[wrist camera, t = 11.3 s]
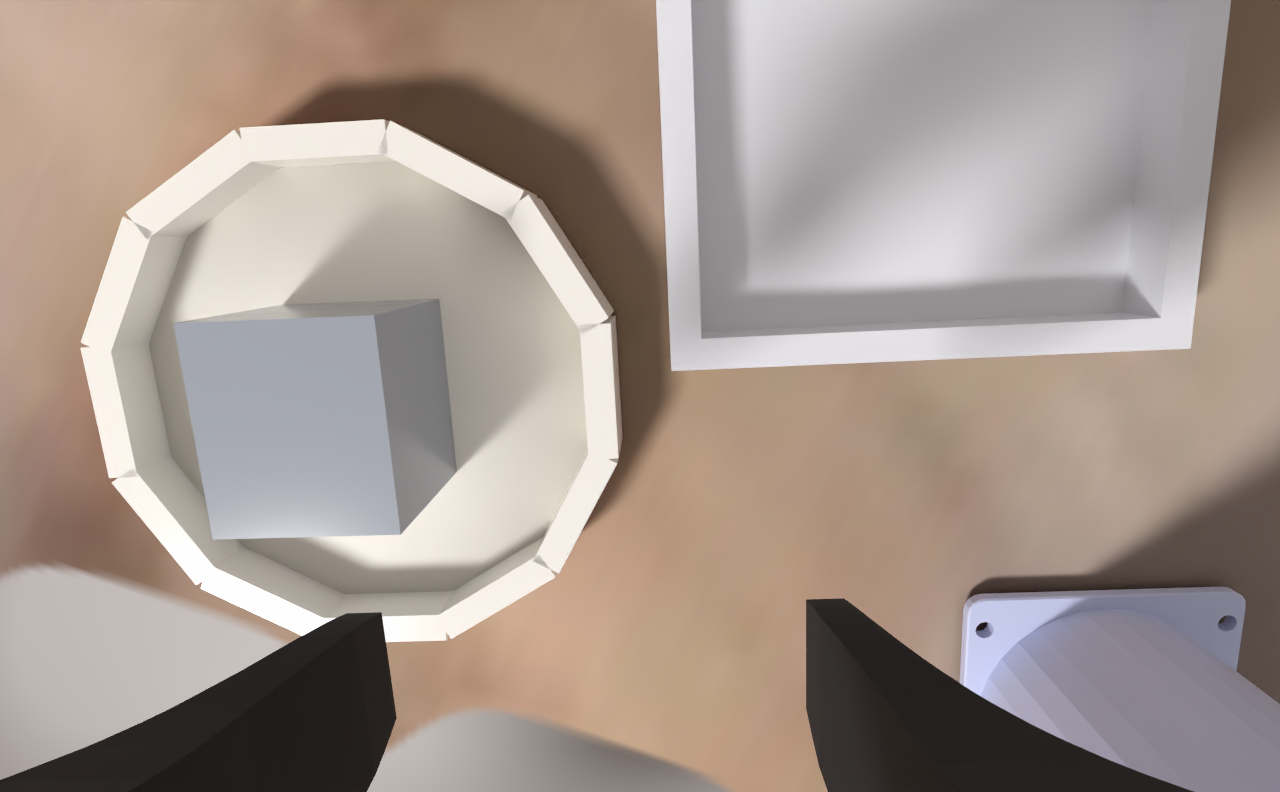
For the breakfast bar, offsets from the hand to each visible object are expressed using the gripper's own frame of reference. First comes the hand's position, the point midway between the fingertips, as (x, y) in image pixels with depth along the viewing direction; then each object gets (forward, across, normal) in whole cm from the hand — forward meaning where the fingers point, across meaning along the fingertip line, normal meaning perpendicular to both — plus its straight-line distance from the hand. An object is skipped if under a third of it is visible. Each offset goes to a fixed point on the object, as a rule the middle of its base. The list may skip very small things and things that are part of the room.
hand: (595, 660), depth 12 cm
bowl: (+9, +7, -3) cm, 12 cm away
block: (+9, +7, -3) cm, 12 cm away
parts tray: (+9, -8, -10) cm, 16 cm away
